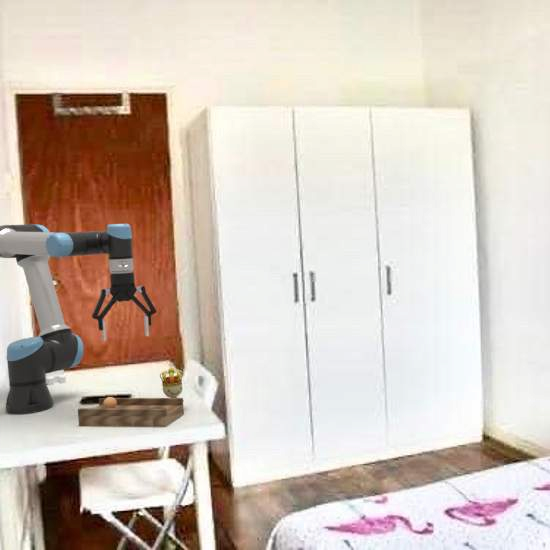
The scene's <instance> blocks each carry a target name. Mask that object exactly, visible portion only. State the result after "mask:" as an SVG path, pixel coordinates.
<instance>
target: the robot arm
mask: <svg viewBox="0 0 550 550" xmlns="http://www.w3.org/2000/svg"><path fill="white" fill-rule="evenodd" d="M106 226H107V227H106V230H99V231H97V230H94V231H79V232H76V231H75V232H74V231H71V232H60V231H59V232H56V231H55V232H51V231H50V230H49V229H48V228H47V227H46V226H44V225H42V224H34V223H28V224H3V225H0V258H2V259H15V260H16V264H17V266H19V267H21V268H22V269H23V272H24V275H25V279H26V280H25V281H26V284H27V287H28V290H29V294H30V298H31V301H32V305H33V308H34V311H35V316H36V319H37V323H38V326H39V330H40V333H39V334H38V336H33V337H31V336H30V337H27V338H25V337H24V338H21V339H17V340H15V341H12V342H11V343H10V344H8V345H7V348H6V356H5V357H6V360H7V361H6V362H7V373H8V383H9V389H8V390H9V391H8V394H7V398H6V402H5V413H7V414H10V415H11V414H13V415H24V414H32V413H37V412H42V411H45V410H46V411H47V410H48V409H51V408H53V406H54V399H53V397H52V394H51V392H50V390H49V387H48V384H47V383H46V376H45V374H46V373H51V372H55V371H59V370H69V369H72V368H75V367H76V366H78V365H79V364H80V363H81V361H82V358H83V356H84V351H85V350H84V344H83V343H84V342H83V340H82V338H81V337H79V335H77V334H75V333H73V332H72V328H71V327H70V326H68V325H67V324H66V323H65V319H64V315H63V312H62V309H61V304H60V302H59V298H58V294H57V291H56V287H55V283H54V280H53V277H52V273H51V270H50V266H49V260H50V258H51V257H53V258H66V257H79V256H80V257H82V256H96V255H97V256H99V255H108V261H109V262H108V263H109V272H111V273H110V275H109V279H110V288H107V289H106V288H101V289H100V295H99V298H98V300H97V303H96V305H95V308H94V310H93V312H92V315H91V318H92V319H93V320H97V326H98V327H97V328H98V331H101V332H102V341H103V342H106V341H107V328H106V320H105V319H104V318H105V317H106V315H107V314H108V313H109V311H110V310H111V309H112V308H113V306H114V304H116V303H117V302H119V303H122V302H130V301H132V302H133V303H134V304H135V305H136V307H138V308H139V309H140V310H141V311H142V312H143V313H144V314H145V315H143V323H144V336H145V337H150V331H149V327H150V326H152V316H153V315H154V314H156V313H157V309H156V307H155V306H154V304H153V302H152V300H151V298H150V297H149V295H148V294H147V292H146V287H145V285H140V286H137V287H136V284H135V273H134V272H133V271H135V267H134V253H133V250H134V249H133V235H132V227H131V225H130V224H129V223H112V224H108V225H106ZM137 292H138V293H139V294H141V296H142V298H143V300H144V302H145V303H146V305H147V307H148V308H146V306H144V304H143V303H142V302H141V301H140V300H139V299H138V298H137V297H136V296H135V294H136V293H137ZM109 294H110V295H111V296H112V297H111V299H110V300H109V301H108V303H107V304H106V305H105V307H104V308H103V310H102V311H101V309H102V306H103V304H104V302H105V300H106V297H108V295H109ZM100 311H101V312H100Z"/></svg>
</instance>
